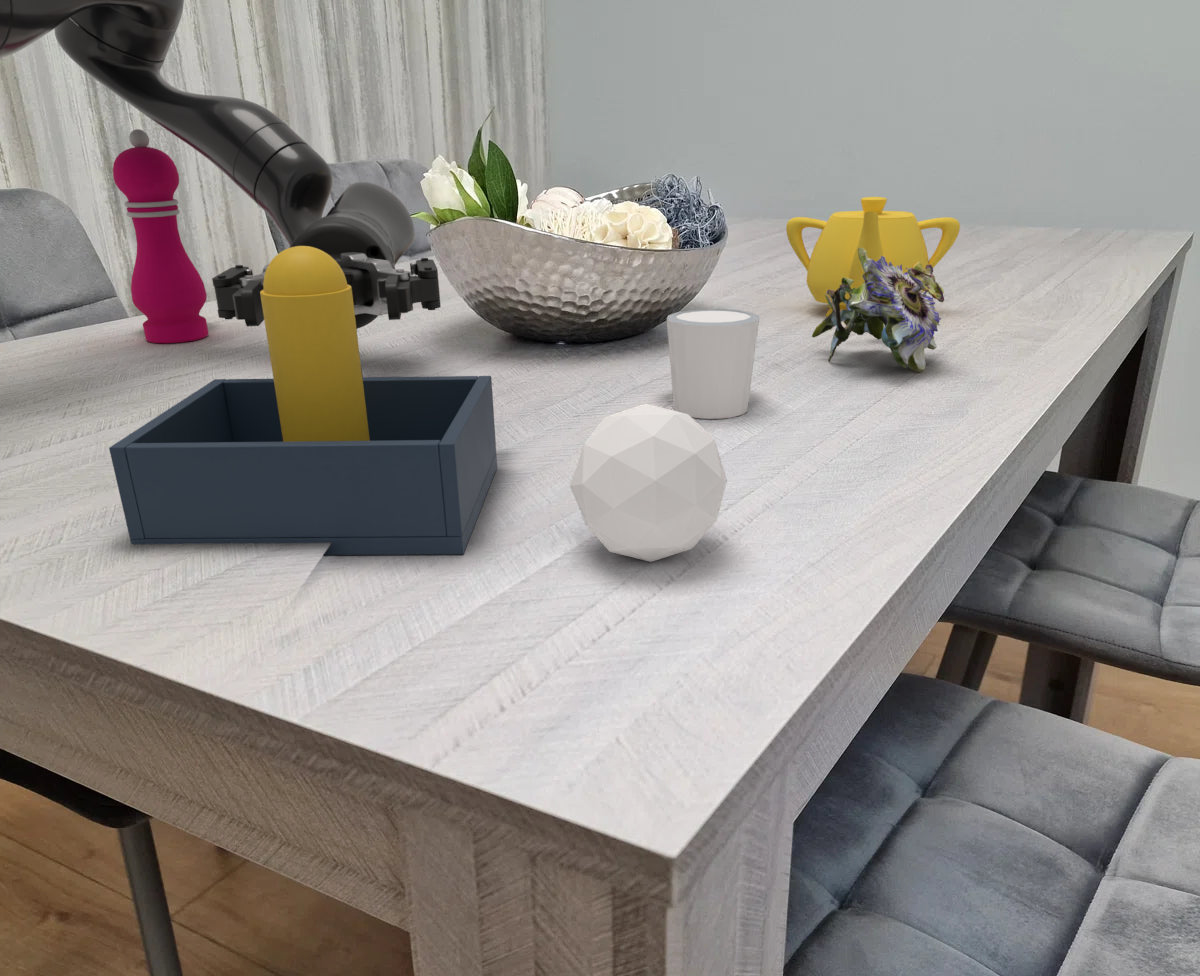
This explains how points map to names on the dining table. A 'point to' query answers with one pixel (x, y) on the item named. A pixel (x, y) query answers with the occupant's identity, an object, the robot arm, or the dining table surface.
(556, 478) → the dining table surface
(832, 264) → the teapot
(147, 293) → the pepper mill
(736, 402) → the shot glass
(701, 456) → the geometric ball
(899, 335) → the passion flower
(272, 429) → the dark blue open box
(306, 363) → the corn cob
